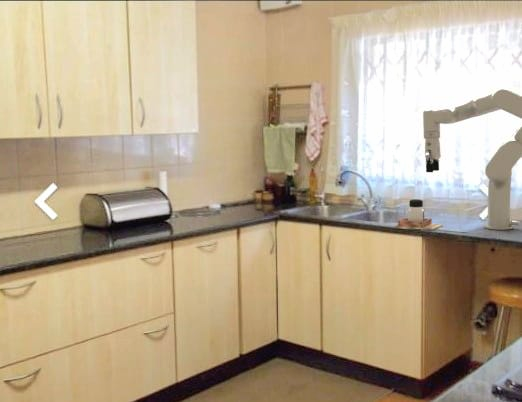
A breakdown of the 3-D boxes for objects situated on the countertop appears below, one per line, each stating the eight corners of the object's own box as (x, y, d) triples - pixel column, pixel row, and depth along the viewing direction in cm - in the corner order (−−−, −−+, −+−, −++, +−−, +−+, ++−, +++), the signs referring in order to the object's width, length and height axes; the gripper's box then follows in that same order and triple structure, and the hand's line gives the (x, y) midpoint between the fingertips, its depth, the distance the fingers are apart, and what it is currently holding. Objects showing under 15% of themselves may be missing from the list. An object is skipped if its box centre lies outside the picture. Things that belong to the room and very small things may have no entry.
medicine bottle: (423, 226, 300) (423, 200, 299) (407, 225, 302) (407, 200, 301) (424, 223, 307) (424, 198, 306) (408, 223, 309) (408, 198, 308)
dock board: (442, 226, 305) (442, 218, 304) (432, 230, 293) (432, 223, 293) (406, 223, 315) (406, 216, 314) (395, 228, 303) (395, 220, 303)
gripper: (434, 135, 297) (435, 172, 299) (444, 134, 312) (445, 169, 314) (418, 136, 301) (419, 172, 303) (429, 135, 316) (430, 170, 317)
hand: (432, 171), depth 308 cm, fingers open, 9 cm apart
